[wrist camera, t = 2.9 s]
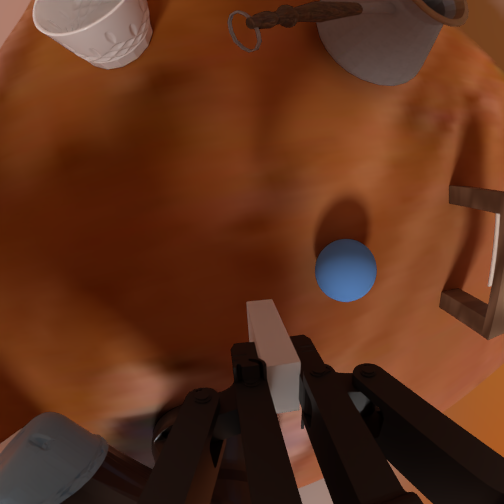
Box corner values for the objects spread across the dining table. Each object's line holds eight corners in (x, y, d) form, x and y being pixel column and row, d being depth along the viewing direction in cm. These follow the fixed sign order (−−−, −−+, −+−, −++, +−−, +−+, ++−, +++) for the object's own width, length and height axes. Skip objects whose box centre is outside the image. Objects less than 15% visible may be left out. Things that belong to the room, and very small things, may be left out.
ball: (359, 285, 30) (385, 306, 25) (307, 292, 30) (326, 316, 25) (360, 231, 29) (389, 244, 24) (306, 235, 28) (327, 249, 23)
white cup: (161, 0, 21) (144, -61, 12) (157, 68, 23) (132, 20, 14) (85, 15, 20) (45, -33, 11) (77, 82, 22) (23, 49, 13)
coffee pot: (370, -12, 23) (445, -78, 8) (425, 73, 26) (527, 42, 11) (191, 52, 23) (176, -50, 9) (257, 157, 26) (309, 137, 12)
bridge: (455, 303, 33) (504, 333, 24) (439, 307, 33) (488, 340, 24) (466, 186, 29) (524, 194, 21) (449, 185, 29) (509, 194, 20)
